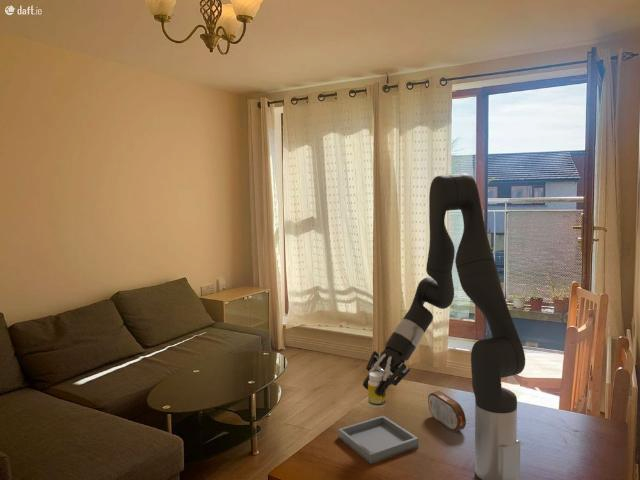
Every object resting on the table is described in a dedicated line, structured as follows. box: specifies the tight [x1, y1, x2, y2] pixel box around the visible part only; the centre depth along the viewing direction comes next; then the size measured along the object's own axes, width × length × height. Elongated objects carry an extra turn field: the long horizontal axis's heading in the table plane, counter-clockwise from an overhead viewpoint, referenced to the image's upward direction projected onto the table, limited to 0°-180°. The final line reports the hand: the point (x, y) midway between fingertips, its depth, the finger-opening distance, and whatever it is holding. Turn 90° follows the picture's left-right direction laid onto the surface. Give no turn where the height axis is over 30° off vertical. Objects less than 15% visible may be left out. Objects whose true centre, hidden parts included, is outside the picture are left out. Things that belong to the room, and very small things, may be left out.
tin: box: [427, 390, 467, 432], centre depth 138 cm, size 15×3×8 cm, turn 22°
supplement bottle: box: [367, 371, 387, 408], centre depth 128 cm, size 5×5×8 cm
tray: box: [337, 415, 420, 465], centre depth 129 cm, size 16×16×2 cm
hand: (371, 390), depth 127 cm, fingers closed on supplement bottle, 4 cm apart
